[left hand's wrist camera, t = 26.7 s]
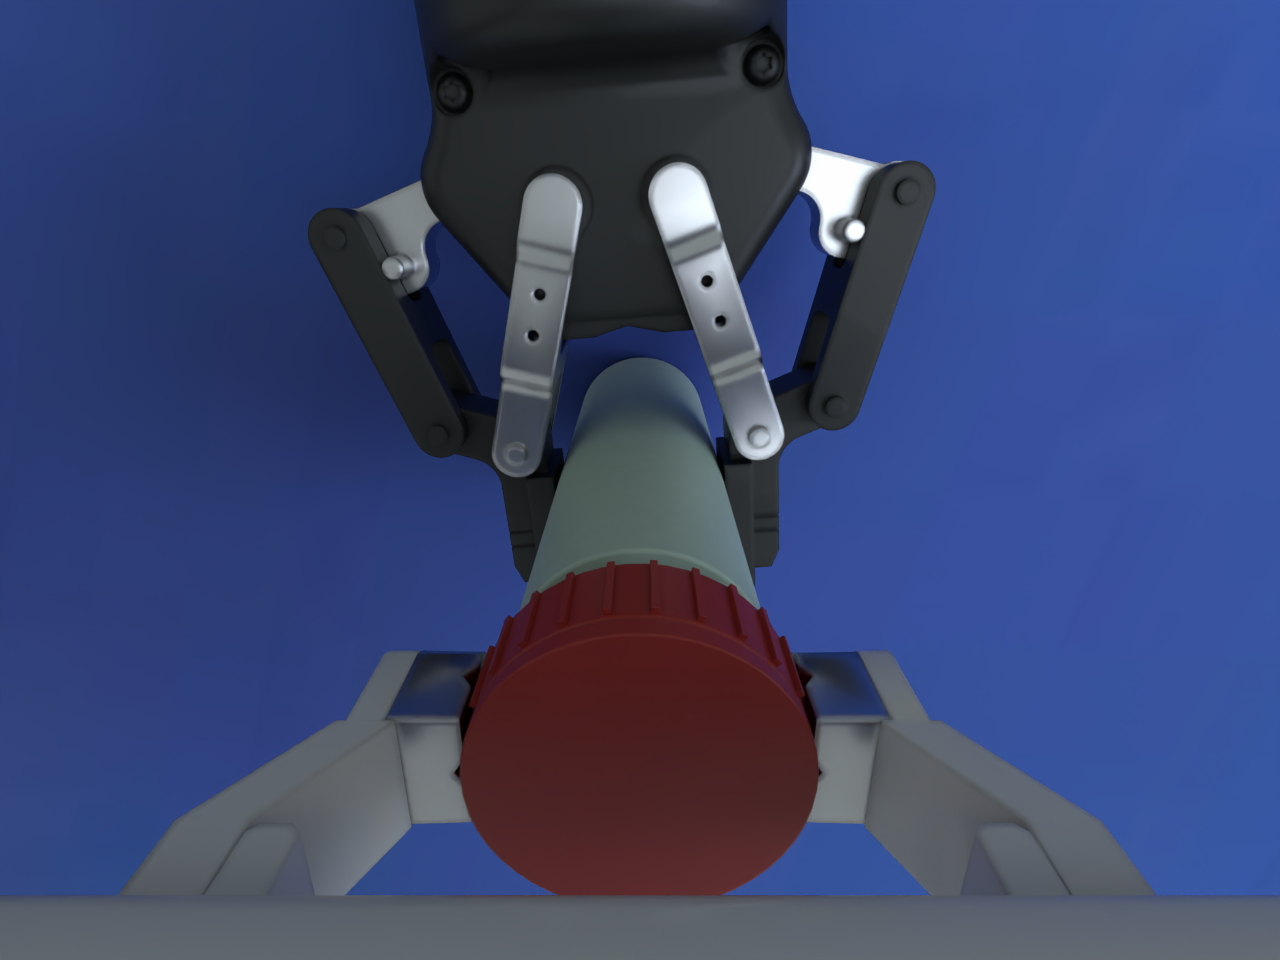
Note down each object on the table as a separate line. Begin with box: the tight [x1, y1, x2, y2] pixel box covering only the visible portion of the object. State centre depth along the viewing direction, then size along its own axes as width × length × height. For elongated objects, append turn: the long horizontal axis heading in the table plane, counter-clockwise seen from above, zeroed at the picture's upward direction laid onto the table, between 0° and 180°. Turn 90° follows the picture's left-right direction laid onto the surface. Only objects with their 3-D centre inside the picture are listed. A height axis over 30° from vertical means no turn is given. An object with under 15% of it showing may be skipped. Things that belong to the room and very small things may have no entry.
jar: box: [519, 357, 760, 611], centre depth 17 cm, size 4×4×16 cm
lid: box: [460, 560, 819, 895], centre depth 10 cm, size 5×5×2 cm
